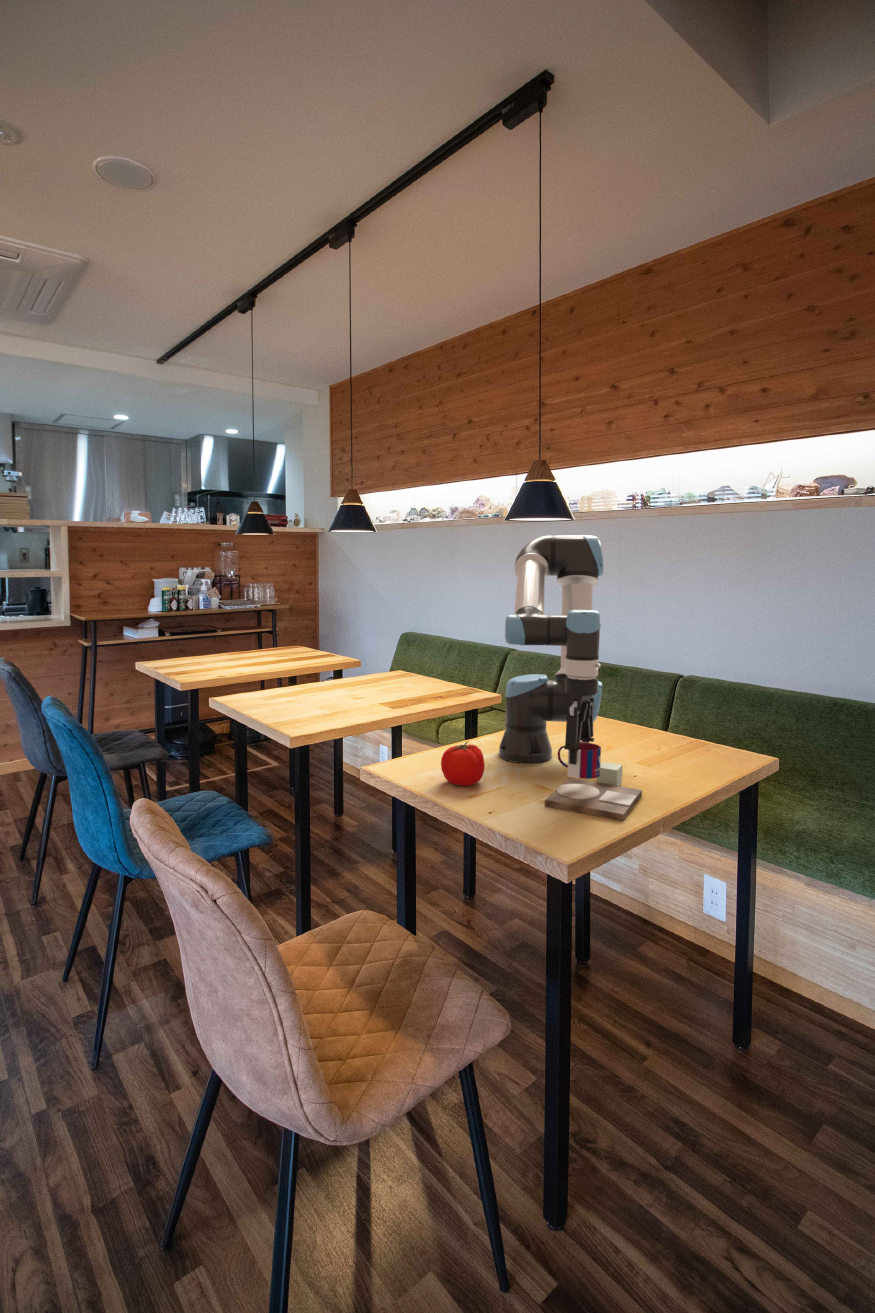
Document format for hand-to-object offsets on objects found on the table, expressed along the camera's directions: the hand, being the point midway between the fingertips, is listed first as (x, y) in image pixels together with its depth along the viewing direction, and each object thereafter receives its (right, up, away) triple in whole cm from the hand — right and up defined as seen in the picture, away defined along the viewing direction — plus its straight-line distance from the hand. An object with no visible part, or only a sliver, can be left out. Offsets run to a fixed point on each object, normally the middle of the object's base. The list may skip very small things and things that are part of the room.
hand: (578, 772), depth 160 cm
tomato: (-27, -5, +12) cm, 30 cm away
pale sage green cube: (+10, -5, +10) cm, 15 cm away
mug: (0, 0, 0) cm, 1 cm away
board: (+4, -7, -1) cm, 7 cm away
